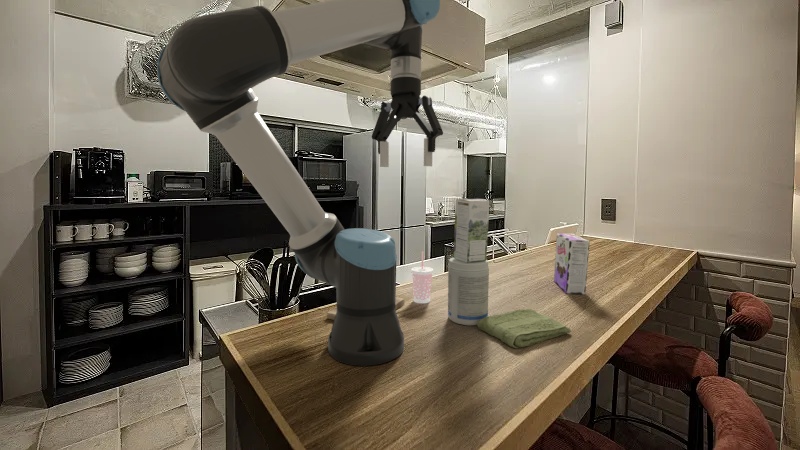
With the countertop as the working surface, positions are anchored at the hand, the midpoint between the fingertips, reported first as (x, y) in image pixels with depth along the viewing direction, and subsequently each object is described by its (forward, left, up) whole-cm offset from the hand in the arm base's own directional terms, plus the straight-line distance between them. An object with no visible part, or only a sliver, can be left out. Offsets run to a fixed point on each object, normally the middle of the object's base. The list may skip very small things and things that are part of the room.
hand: (405, 166), depth 93 cm
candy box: (+45, -32, -37) cm, 67 cm away
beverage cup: (+7, -1, -37) cm, 38 cm away
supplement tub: (+2, -17, -37) cm, 41 cm away
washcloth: (+3, -30, -37) cm, 48 cm away
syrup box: (+2, -18, -22) cm, 28 cm away
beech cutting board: (-8, +6, -37) cm, 38 cm away
